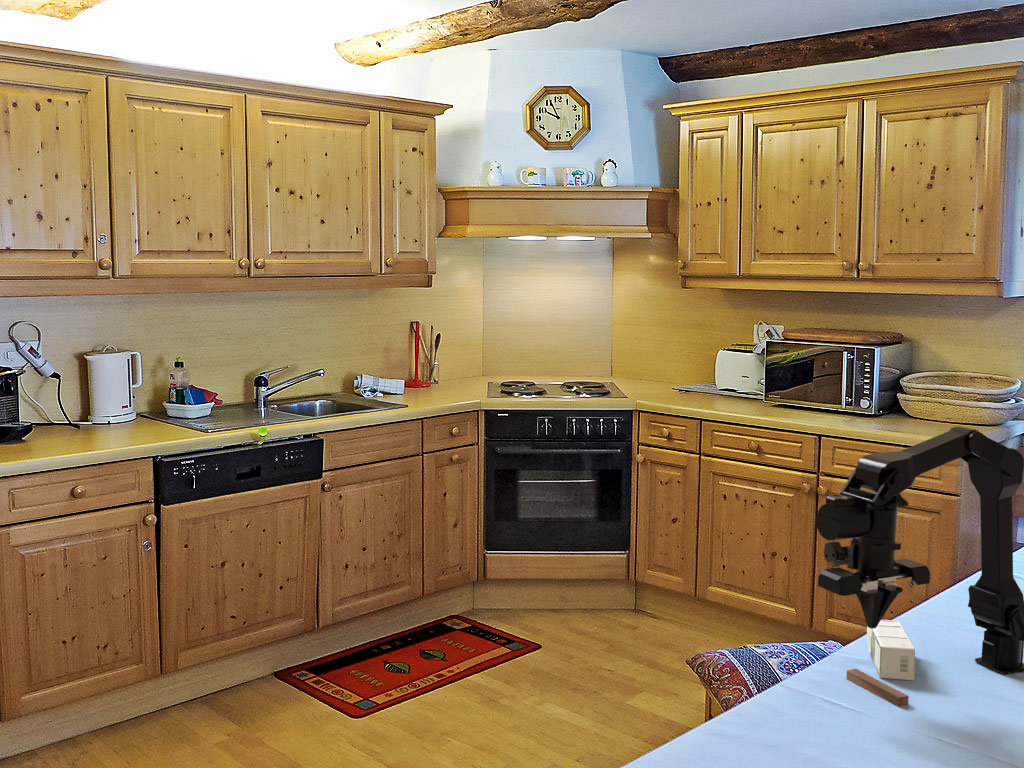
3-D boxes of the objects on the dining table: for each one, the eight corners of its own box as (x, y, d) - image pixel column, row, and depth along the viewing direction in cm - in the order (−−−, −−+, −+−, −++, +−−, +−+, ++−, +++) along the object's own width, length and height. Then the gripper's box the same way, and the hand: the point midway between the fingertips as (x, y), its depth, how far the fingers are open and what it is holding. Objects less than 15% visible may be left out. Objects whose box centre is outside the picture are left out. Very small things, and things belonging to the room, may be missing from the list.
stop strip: (855, 677, 177) (856, 668, 177) (908, 704, 166) (908, 695, 166) (846, 678, 176) (846, 670, 176) (898, 706, 165) (899, 697, 165)
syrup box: (916, 648, 175) (901, 619, 189) (879, 646, 176) (867, 617, 190) (914, 681, 175) (899, 650, 189) (878, 678, 176) (865, 647, 190)
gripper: (885, 517, 178) (880, 605, 180) (797, 527, 171) (793, 619, 173) (935, 533, 168) (929, 626, 170) (844, 544, 161) (839, 641, 162)
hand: (871, 627), depth 169 cm, fingers closed
